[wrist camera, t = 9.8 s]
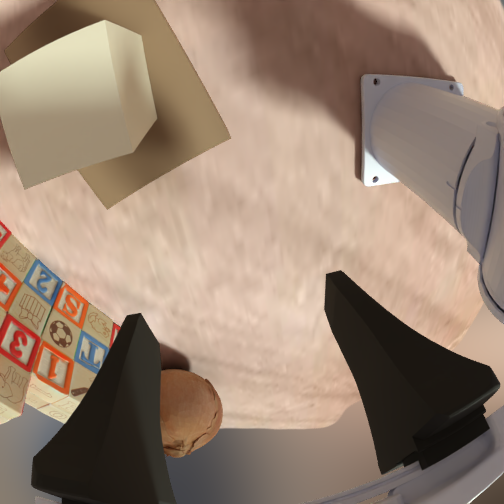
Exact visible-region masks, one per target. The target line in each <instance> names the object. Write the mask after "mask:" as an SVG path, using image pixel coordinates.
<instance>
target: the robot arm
mask: <svg viewBox="0 0 504 504" xmlns="http://www.w3.org/2000/svg"><path fill="white" fill-rule="evenodd" d="M375 78H376V79H377V83H376V85H374V83H373V81H374V79H375ZM449 87H450V88H449ZM361 101H362V170H361V181H362V183H363V184H364V185H365V186H375V185H382V184H388V183H395V182H401V183H403V184H404V185H405V186H406V187H408V188H409V189H410V190H411V191H413V192H414V193H415V194H416V195H417V196H419V197H420V198H421V199H422V200H423V201H425V202H426V203H427V204H428V205H429V206H430V207H432V208H433V209H434V210H435V211H436V212H437V213H438V214H440V215H441V216H442V217H443V218H444V219H445V220H446V221H447V222H448V223H449V224H450V225H452V226H453V227H454V228H455V229H456V230H457V231H458V232H459V233H460V234H461V235H462V236H463V237H464V238H465V239H466V241H467V245H468V246H467V251H468V252H469V253H470V254H471V256H472V257H473V258H474V259H475V260H476V261H477V262H478V263H479V264H480V265H479V269H478V287H479V290H480V294H481V296H482V299H483V301H484V303H485V304H486V306H487V308H488V309H489V310H490V312H491V313H492V314H493V315H494V316H495V317H496V318H497V319H498V320H499V321H500V322H502V323H503V324H504V106H503V107H502V108H501V109H500V110H498V109H495V108H493V107H491V106H488V105H486V104H483V103H481V102H478V101H476V100H473V99H470V98H467V97H465V96H463V85H462V84H461V83H459V82H455V81H448V80H441V79H433V78H424V77H414V76H402V75H384V74H364V75H363V76H362V78H361ZM375 176H376V178H375V180H373V181H372V179H373V177H375ZM324 310H325V313H326V316H327V319H328V322H329V324H330V327H331V330H332V333H333V335H334V337H335V339H336V341H337V343H338V345H339V347H340V349H341V351H342V353H343V355H344V358H345V360H346V362H347V364H348V366H349V368H350V370H351V372H352V374H353V377H354V379H355V381H356V384H357V387H358V390H359V393H360V396H361V399H362V402H363V405H364V408H365V411H366V415H367V418H368V421H369V426H370V429H371V433H372V437H373V441H374V445H375V450H376V455H377V460H378V466H379V469H380V471H381V474H382V475H383V474H386V473H388V472H390V471H393V470H395V469H397V468H399V467H401V466H404V468H402V469H400V470H398V471H395V472H393V473H391V474H388V475H386V476H384V477H381V478H379V479H377V480H374V481H371V482H369V483H366V484H363V485H361V486H358V487H355V488H352V489H349V490H347V491H343V492H340V493H337V494H334V495H330V496H327V497H324V498H320V499H316V500H313V501H308V502H304V503H301V504H356V503H359V502H362V501H364V500H367V499H370V498H372V497H375V496H377V495H380V494H382V493H385V492H387V491H389V490H390V491H389V493H388V496H387V497H386V498H383V499H380V500H377V501H375V502H372V503H370V504H469V503H470V502H471V501H472V500H473V499H475V498H476V497H477V496H478V495H479V494H481V493H482V492H483V491H484V490H485V489H486V488H488V487H489V486H490V485H491V484H492V483H493V482H494V481H495V480H496V479H497V478H499V477H500V476H501V475H502V474H503V473H504V405H503V406H502V407H501V408H499V409H498V410H497V411H496V412H494V413H493V414H491V415H490V416H489V417H487V418H486V419H485V417H484V415H483V414H484V413H485V412H486V409H485V407H484V405H483V404H484V403H485V402H486V401H487V400H488V399H489V398H490V397H492V396H493V395H494V394H495V393H496V392H497V391H498V389H499V388H500V382H499V381H498V379H497V377H496V375H495V374H494V372H493V371H492V369H491V368H490V366H487V365H485V364H482V363H479V362H476V361H473V360H470V359H468V358H466V357H463V356H461V355H458V354H456V353H454V352H452V351H450V350H448V349H446V348H444V347H442V346H440V345H439V344H437V343H435V342H433V341H431V340H429V339H428V338H426V337H424V336H423V335H421V334H419V333H418V332H416V331H415V330H413V329H412V328H410V327H409V326H407V325H406V324H404V323H403V322H402V321H400V320H399V319H398V318H396V317H395V316H394V315H392V314H391V313H390V312H389V311H387V310H386V309H385V308H384V307H382V306H381V305H380V304H379V303H378V302H376V301H375V300H374V299H373V298H372V297H370V296H369V295H368V294H367V293H366V292H365V291H364V290H362V289H361V288H360V287H359V286H358V285H357V284H356V283H355V282H354V281H352V280H351V279H350V278H349V277H348V276H347V275H346V274H345V273H344V272H342V271H341V270H340V271H336V272H332V273H328V274H326V287H325V306H324ZM160 390H161V358H160V346H159V343H158V341H157V339H156V338H155V336H154V334H153V333H152V331H151V330H150V328H149V326H148V325H147V323H146V321H145V319H144V318H143V316H142V314H141V313H138V314H132V315H127V316H126V318H125V320H124V322H123V324H122V326H121V328H120V330H119V332H118V334H117V336H116V338H115V340H114V342H113V344H112V346H111V348H110V350H109V352H108V354H107V356H106V358H105V360H104V362H103V364H102V366H101V368H100V370H99V371H98V373H97V375H96V377H95V379H94V381H93V382H92V384H91V386H90V388H89V389H88V391H87V393H86V394H85V396H84V397H83V399H82V401H81V402H80V404H79V405H78V406H77V408H76V409H75V411H74V412H73V413H72V415H71V416H70V417H69V419H68V420H67V421H66V423H65V424H64V425H63V427H62V428H61V429H60V430H59V431H58V433H57V434H56V435H55V436H54V437H53V438H52V440H50V442H49V443H48V444H47V445H46V446H45V447H44V448H43V449H41V450H40V451H39V452H38V453H37V454H36V456H34V457H33V465H32V479H31V485H32V486H33V487H34V488H35V489H38V490H40V491H43V492H46V493H48V494H51V495H54V496H57V497H60V498H62V503H59V502H55V501H52V500H48V499H44V498H41V497H38V496H37V497H36V500H35V502H36V503H35V504H176V500H175V497H174V494H173V490H172V487H171V483H170V479H169V475H168V470H167V466H166V460H165V454H164V448H163V442H162V434H161V425H160Z"/></svg>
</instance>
